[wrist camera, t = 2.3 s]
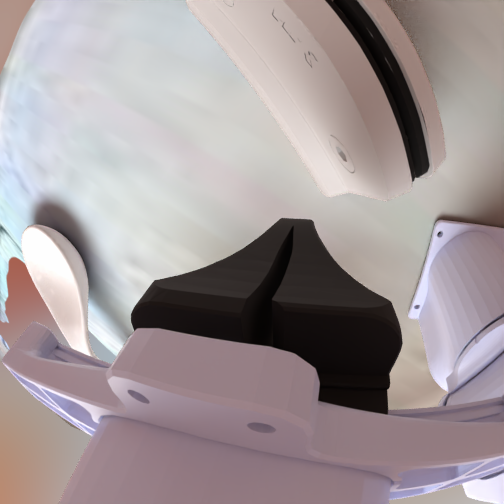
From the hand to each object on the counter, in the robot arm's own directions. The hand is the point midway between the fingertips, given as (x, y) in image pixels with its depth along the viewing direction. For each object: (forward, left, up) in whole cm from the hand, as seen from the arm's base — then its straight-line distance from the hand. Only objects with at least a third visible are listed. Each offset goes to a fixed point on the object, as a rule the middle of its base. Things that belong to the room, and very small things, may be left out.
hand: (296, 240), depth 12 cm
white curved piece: (+8, 0, -9) cm, 12 cm away
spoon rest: (-14, +25, -9) cm, 30 cm away
